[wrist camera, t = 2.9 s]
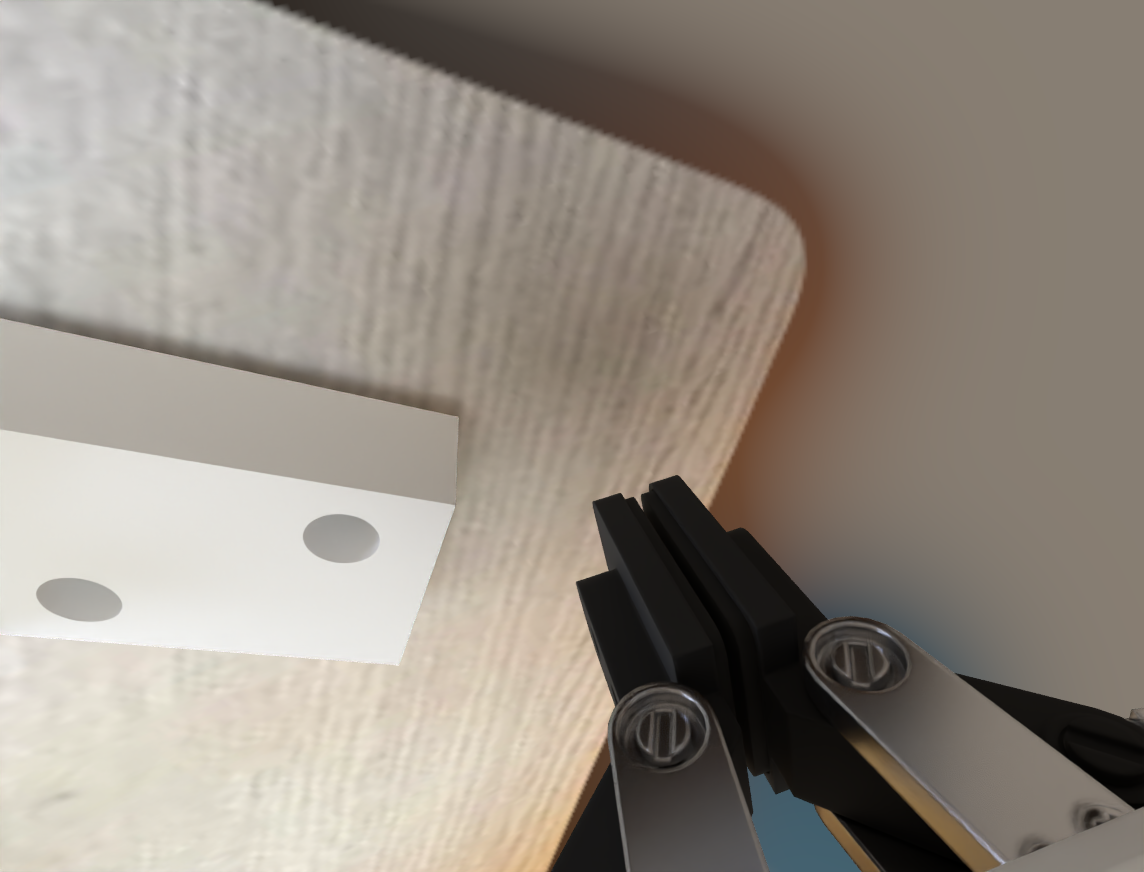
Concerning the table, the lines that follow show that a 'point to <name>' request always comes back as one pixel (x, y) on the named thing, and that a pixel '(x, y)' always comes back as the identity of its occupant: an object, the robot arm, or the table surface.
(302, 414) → the bracket
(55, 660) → the table surface
